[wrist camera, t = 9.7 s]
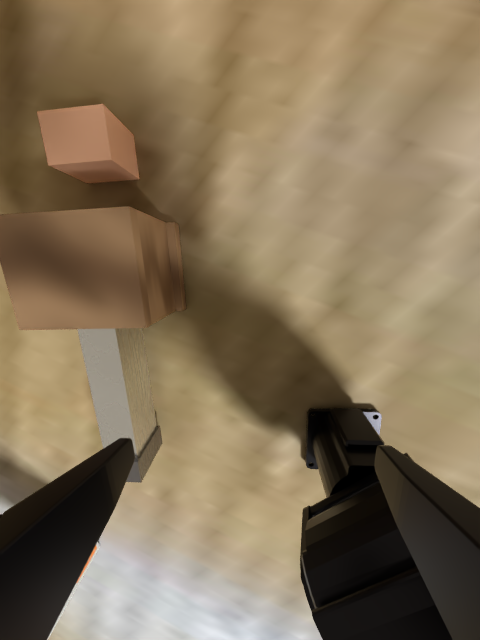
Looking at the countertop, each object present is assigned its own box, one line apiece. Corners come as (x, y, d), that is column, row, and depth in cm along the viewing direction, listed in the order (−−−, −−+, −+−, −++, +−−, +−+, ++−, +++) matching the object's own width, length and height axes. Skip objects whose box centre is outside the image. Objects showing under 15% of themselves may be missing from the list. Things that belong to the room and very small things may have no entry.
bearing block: (186, 308, 20) (156, 327, 14) (80, 311, 21) (10, 330, 15) (178, 224, 19) (140, 205, 13) (64, 230, 19) (-23, 215, 13)
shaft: (162, 443, 23) (141, 482, 19) (131, 442, 23) (104, 480, 19) (135, 254, 18) (100, 252, 14) (97, 256, 19) (53, 254, 15)
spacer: (111, 159, 15) (103, 103, 14) (48, 165, 15) (36, 111, 14) (140, 179, 18) (134, 135, 17) (87, 183, 19) (80, 140, 18)
